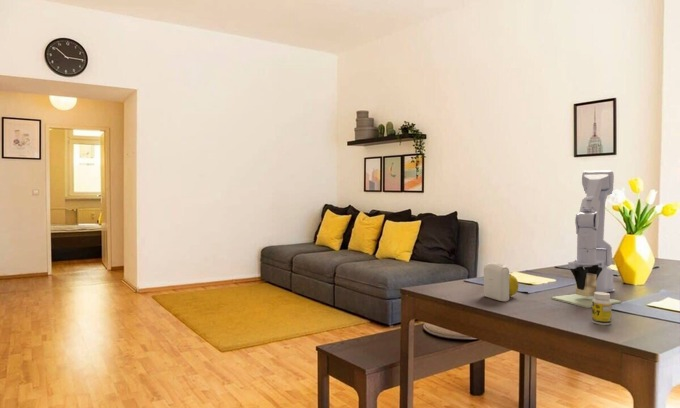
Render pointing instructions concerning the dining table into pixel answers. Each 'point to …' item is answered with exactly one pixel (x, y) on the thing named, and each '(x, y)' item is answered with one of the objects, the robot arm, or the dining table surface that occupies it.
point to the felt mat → (580, 300)
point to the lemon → (512, 285)
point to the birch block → (588, 286)
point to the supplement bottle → (601, 308)
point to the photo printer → (496, 281)
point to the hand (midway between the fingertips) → (585, 288)
